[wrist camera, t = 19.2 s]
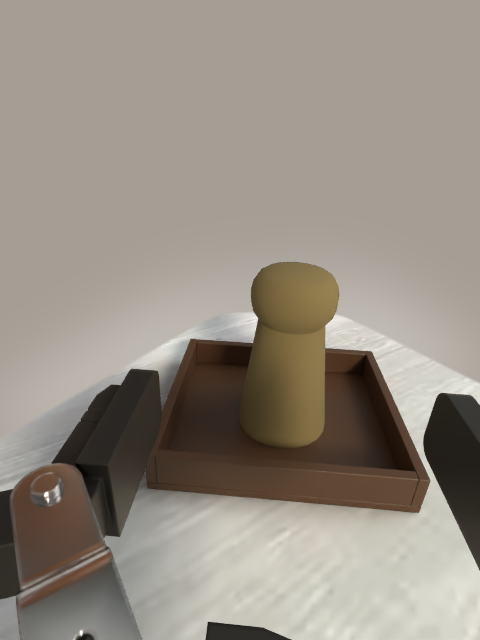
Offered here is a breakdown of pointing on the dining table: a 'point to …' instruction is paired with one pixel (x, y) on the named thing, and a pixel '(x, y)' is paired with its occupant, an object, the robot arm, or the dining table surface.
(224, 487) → the tray
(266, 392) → the cork
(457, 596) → the dining table surface
